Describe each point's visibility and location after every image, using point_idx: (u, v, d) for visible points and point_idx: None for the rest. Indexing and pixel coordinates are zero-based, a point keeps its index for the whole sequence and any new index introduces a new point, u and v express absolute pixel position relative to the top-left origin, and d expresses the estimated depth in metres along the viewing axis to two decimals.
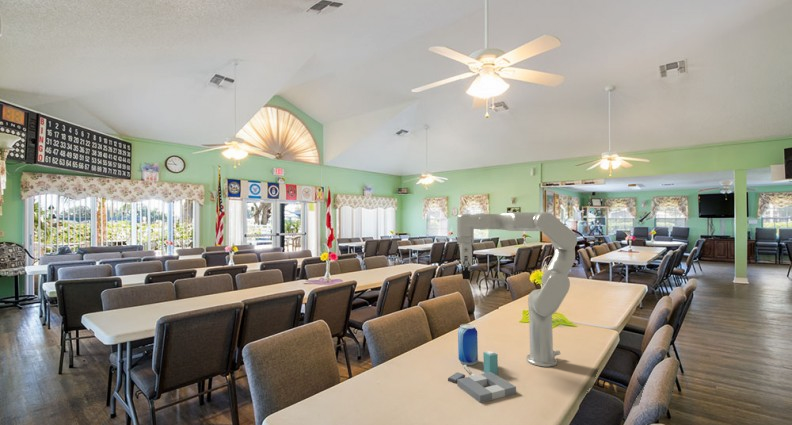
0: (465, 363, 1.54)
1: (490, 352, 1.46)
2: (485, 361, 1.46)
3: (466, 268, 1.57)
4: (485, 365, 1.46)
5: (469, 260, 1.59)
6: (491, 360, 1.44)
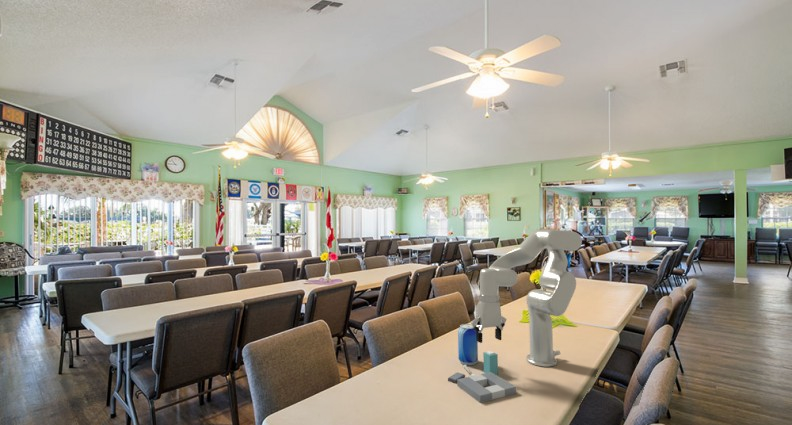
0: (465, 363, 1.54)
1: (490, 352, 1.46)
2: (485, 361, 1.46)
3: None
4: (485, 365, 1.46)
5: None
6: (491, 360, 1.44)
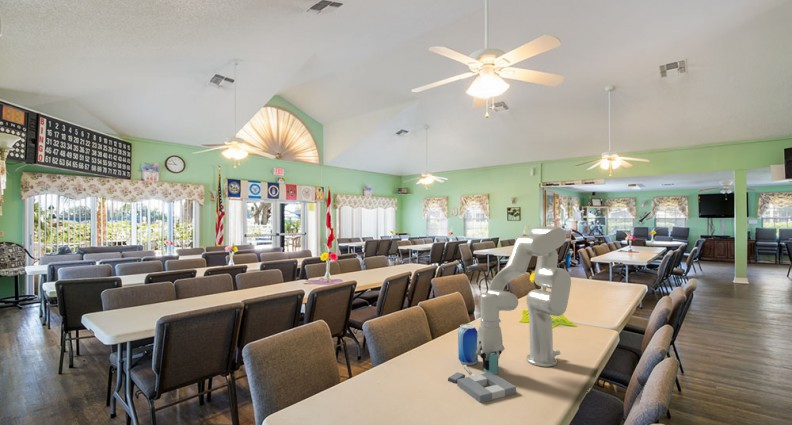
0: (465, 363, 1.54)
1: (490, 352, 1.46)
2: None
3: None
4: None
5: None
6: (491, 360, 1.44)
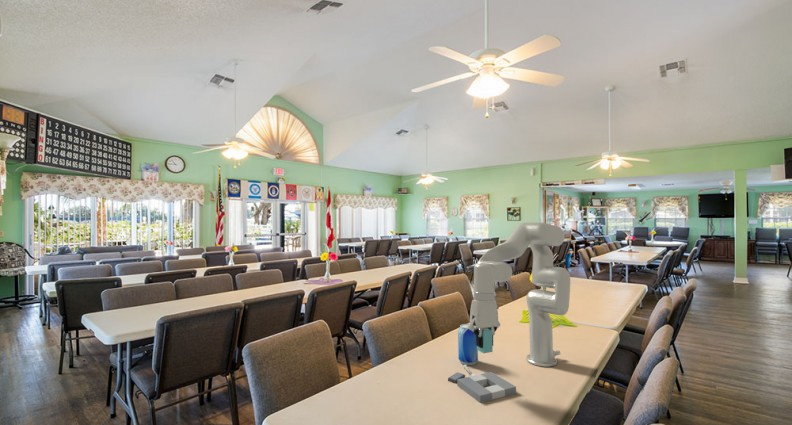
0: (465, 363, 1.54)
1: (484, 328, 1.32)
2: None
3: None
4: None
5: None
6: (485, 337, 1.29)
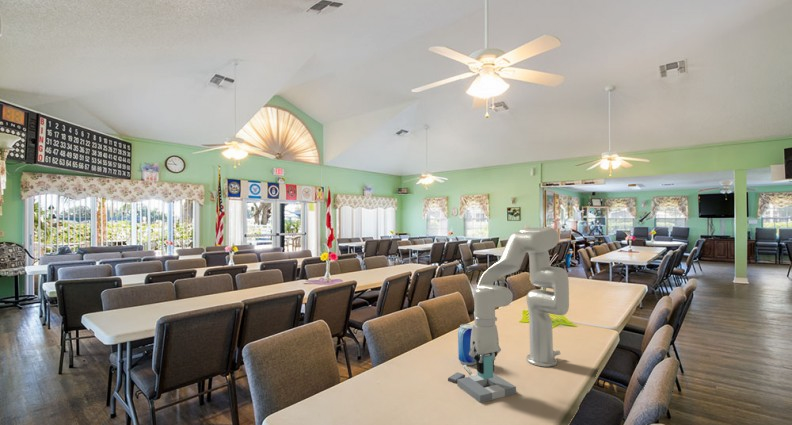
0: (465, 363, 1.54)
1: None
2: None
3: None
4: None
5: None
6: (485, 363, 1.29)
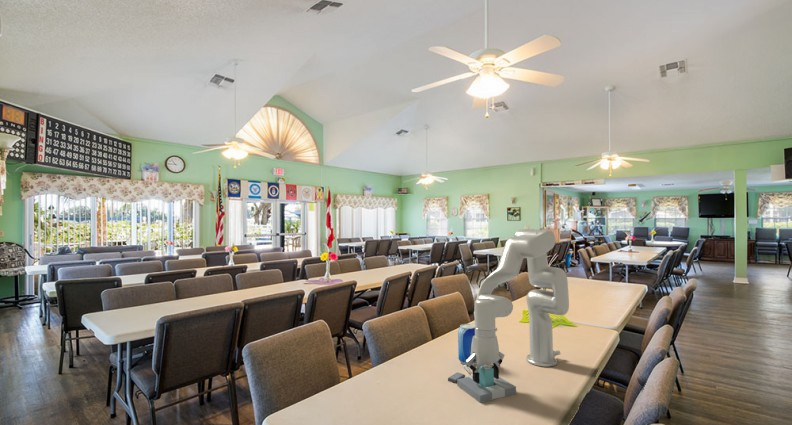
0: (465, 363, 1.54)
1: (485, 366, 1.31)
2: (480, 376, 1.31)
3: None
4: (480, 381, 1.32)
5: None
6: (486, 376, 1.29)
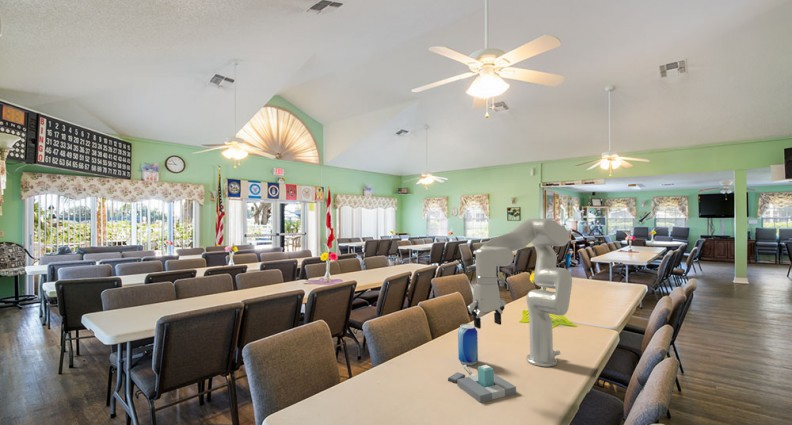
0: (465, 363, 1.54)
1: (485, 366, 1.31)
2: (480, 376, 1.31)
3: None
4: (480, 381, 1.32)
5: None
6: (486, 376, 1.29)
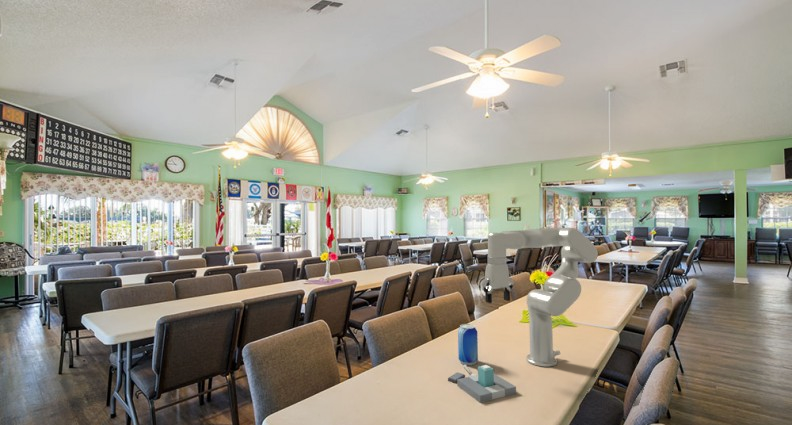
0: (465, 363, 1.54)
1: (485, 366, 1.31)
2: (480, 376, 1.31)
3: None
4: (480, 381, 1.32)
5: None
6: (486, 376, 1.29)
